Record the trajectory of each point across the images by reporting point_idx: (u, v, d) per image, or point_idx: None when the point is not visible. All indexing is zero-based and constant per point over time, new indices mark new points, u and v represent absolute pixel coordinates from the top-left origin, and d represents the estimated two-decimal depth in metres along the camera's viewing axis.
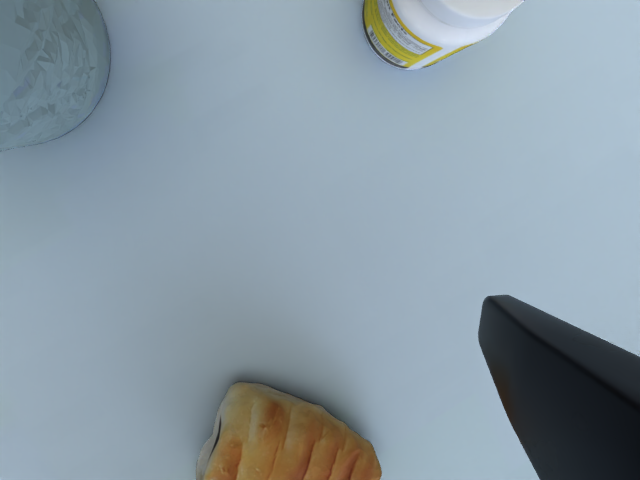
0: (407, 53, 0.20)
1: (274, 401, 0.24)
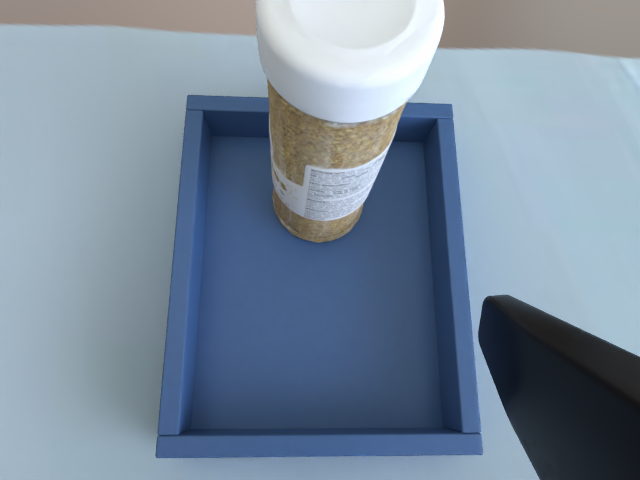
0: None
1: None
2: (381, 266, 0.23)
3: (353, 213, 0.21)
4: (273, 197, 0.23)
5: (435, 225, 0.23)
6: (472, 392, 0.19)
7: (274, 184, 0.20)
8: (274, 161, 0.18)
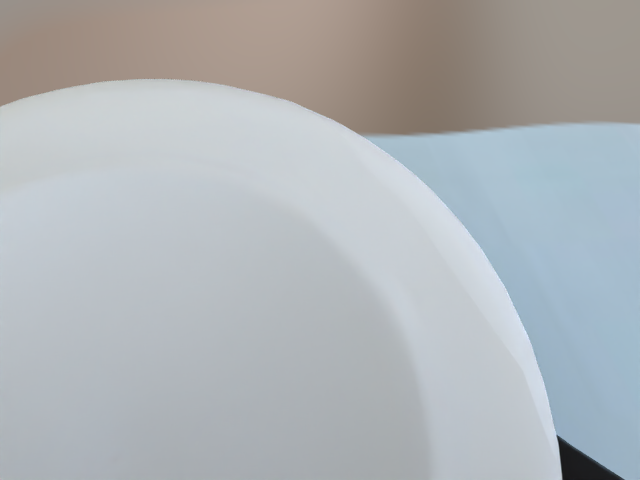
0: None
1: None
2: None
3: None
4: None
5: None
6: None
7: None
8: None
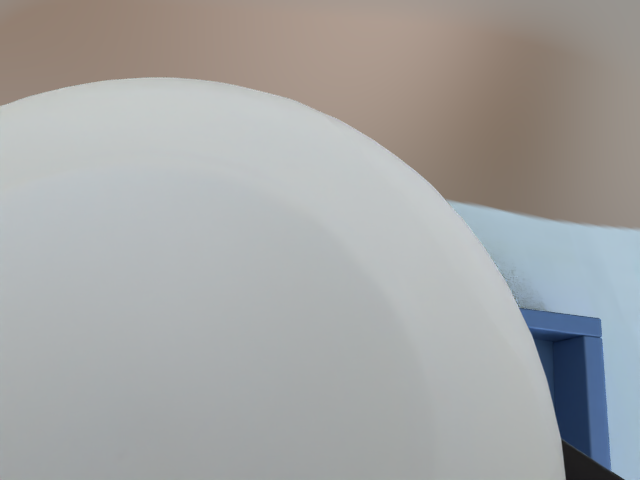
0: None
1: None
2: None
3: None
4: None
5: None
6: None
7: None
8: None
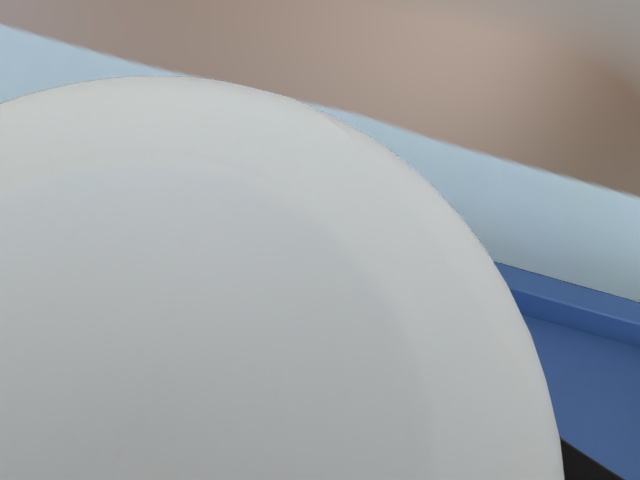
0: None
1: None
2: None
3: None
4: None
5: None
6: None
7: None
8: None
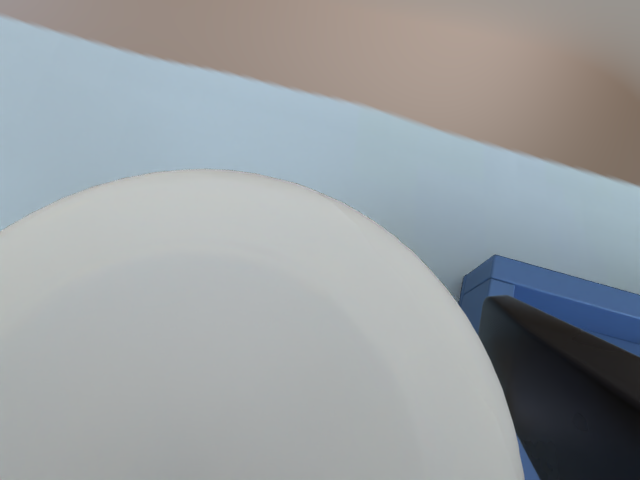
0: None
1: None
2: None
3: None
4: None
5: None
6: None
7: None
8: None
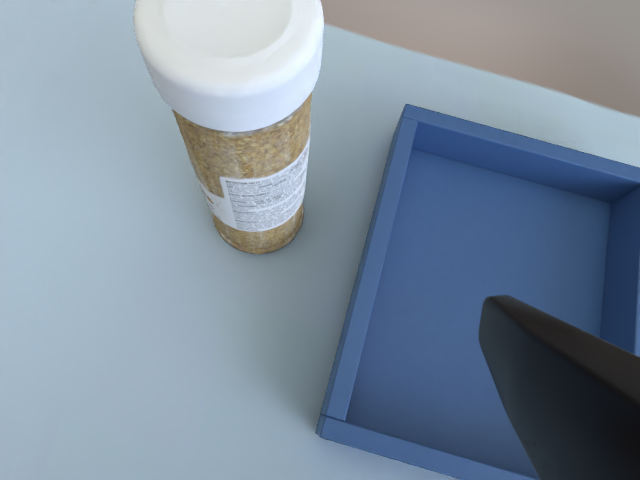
0: None
1: None
2: (549, 313, 0.23)
3: (289, 222, 0.21)
4: (212, 211, 0.23)
5: (617, 287, 0.22)
6: None
7: None
8: (196, 175, 0.18)
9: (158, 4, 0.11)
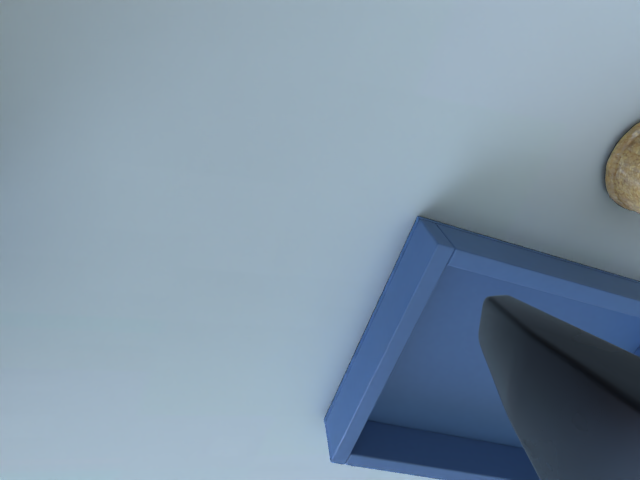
0: None
1: None
2: (481, 405, 0.27)
3: None
4: None
5: (495, 457, 0.27)
6: (374, 466, 0.24)
7: None
8: None
9: None
